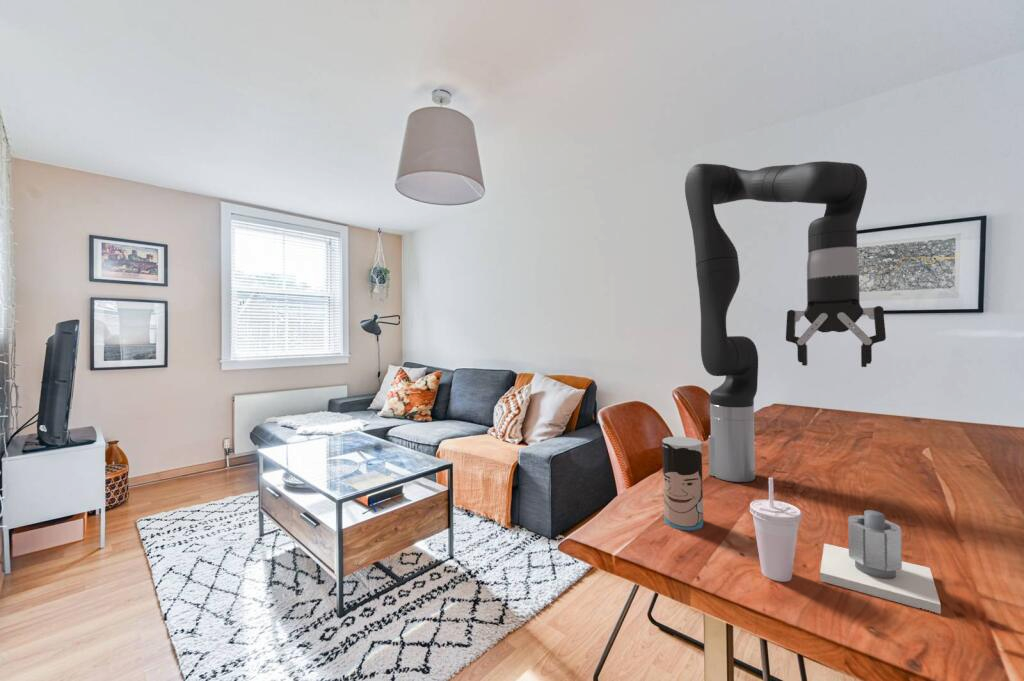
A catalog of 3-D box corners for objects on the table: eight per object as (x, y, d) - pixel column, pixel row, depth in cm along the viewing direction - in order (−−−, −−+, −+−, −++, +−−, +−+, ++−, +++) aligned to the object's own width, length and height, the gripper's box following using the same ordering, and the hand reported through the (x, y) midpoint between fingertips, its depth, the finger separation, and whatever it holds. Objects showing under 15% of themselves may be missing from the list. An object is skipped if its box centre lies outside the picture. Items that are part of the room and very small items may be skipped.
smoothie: (741, 563, 65) (739, 472, 65) (781, 560, 66) (779, 469, 65) (770, 589, 59) (768, 487, 58) (814, 585, 59) (813, 484, 59)
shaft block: (820, 580, 60) (819, 515, 60) (824, 550, 68) (823, 493, 68) (940, 614, 53) (940, 539, 52) (929, 576, 60) (929, 511, 60)
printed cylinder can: (656, 518, 81) (654, 439, 81) (683, 511, 84) (681, 435, 84) (683, 533, 75) (681, 448, 75) (711, 525, 78) (710, 442, 77)
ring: (848, 561, 60) (848, 526, 60) (848, 545, 64) (848, 512, 64) (903, 575, 56) (902, 537, 56) (899, 556, 61) (899, 521, 61)
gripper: (782, 278, 79) (784, 366, 79) (886, 269, 70) (887, 369, 70) (787, 281, 85) (789, 363, 85) (883, 273, 76) (884, 365, 76)
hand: (833, 365), depth 78 cm, fingers open, 8 cm apart
